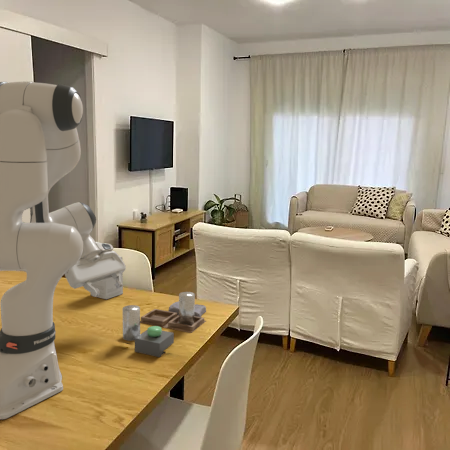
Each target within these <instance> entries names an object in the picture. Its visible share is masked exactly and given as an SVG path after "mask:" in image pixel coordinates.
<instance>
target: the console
mask: <svg viewBox="0 0 450 450" xmlns="http://www.w3.org/2000/svg"><path fill="white" fill-rule="evenodd" d="M174 335H175V334H174V332H173V331H168V330H166V331H165V330H162V334H161V335H160V336H157V337H156V338H155V337H151V336H148V335H147V329H146V330H145V331H143V332H142V333H140V335H139V336H137V337H136V338H135V340H134V352H135V353H140V354H143V355H149V356H152V357H156V358H160V357H162V356H163V355H164V354H165V353H166V351H165V350H166V349H168V348H169V347H170V346H171V345H173V344H174V340H175V339H174V338H175V336H174Z"/></svg>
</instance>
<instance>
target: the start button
mask: <svg viewBox="0 0 450 450" xmlns="http://www.w3.org/2000/svg"><path fill="white" fill-rule="evenodd" d="M162 328H163V327H159V326H153V325H150V326H148V327H147V329H146V330H147V335H148V336H151V337H155V338H156V337H157V336H160V335H161V334H162V331H163V329H162Z"/></svg>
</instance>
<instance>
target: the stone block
mask: <svg viewBox="0 0 450 450" xmlns="http://www.w3.org/2000/svg"><path fill="white" fill-rule="evenodd" d="M167 311H170V312H175V313H177V315H179V300H178V301H175V302H173V303H172V304H170V305H169V306H168V310H167ZM205 313H207V306H205V305H203V304H197V303H195V311H194V316H197V317H202V316H203V314H205Z"/></svg>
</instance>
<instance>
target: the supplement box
mask: <svg viewBox="0 0 450 450" xmlns="http://www.w3.org/2000/svg"><path fill="white" fill-rule="evenodd" d="M120 258H121V259H122V260H123V256H120ZM123 274H124V272H123V273H122V274H121V282H122V283H123V282H124V281H123V280H124V278H123V277H124V275H123ZM115 284H116V279H115V280H114V279H113V277H111V278H108V279H105V280H102V281H98V282H95V283H92V284H91V285H92V286H93V287H94V288H95V289H96V288H98V290H99V291H100V294H99V295H98V296H95V297H96V298H100V299H103V300H108V299H111V298H114V297H117V296H120V295H123V294H124V289H123V288H124V285H123V286H122V287H121V288H119V289H117V288H116V286H115ZM90 296H92V297H94V296H93V295H92V293H91V292H90ZM95 297H94V298H95Z"/></svg>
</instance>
